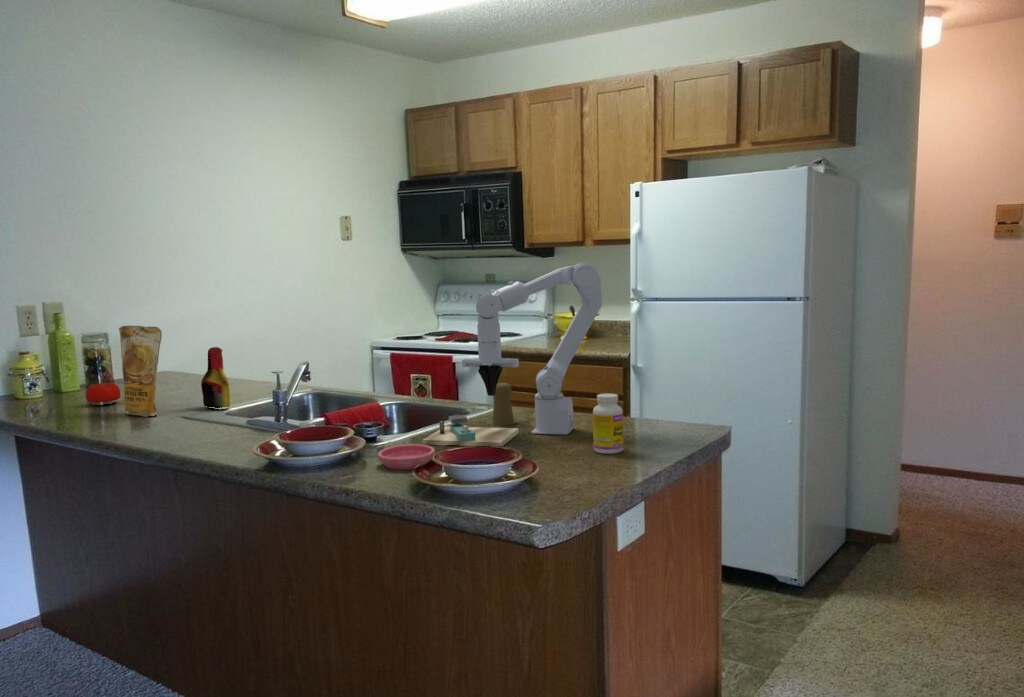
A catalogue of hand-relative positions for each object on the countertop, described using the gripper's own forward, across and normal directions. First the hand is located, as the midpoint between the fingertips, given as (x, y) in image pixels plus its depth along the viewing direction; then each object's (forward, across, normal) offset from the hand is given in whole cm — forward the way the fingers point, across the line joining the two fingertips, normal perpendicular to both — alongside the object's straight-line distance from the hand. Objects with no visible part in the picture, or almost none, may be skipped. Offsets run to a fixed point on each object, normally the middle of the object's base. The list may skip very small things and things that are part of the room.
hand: (491, 395), depth 194 cm
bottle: (+10, +101, -23) cm, 104 cm away
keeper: (+10, +10, +3) cm, 14 cm away
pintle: (+9, +3, +12) cm, 15 cm away
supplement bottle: (+10, -32, +14) cm, 36 cm away
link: (+9, +6, +8) cm, 13 cm away
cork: (+10, +1, -12) cm, 16 cm away
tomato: (+10, +149, -26) cm, 152 cm away
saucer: (+10, +10, +31) cm, 34 cm away
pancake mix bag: (+10, +120, -12) cm, 121 cm away
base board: (+10, +4, +6) cm, 12 cm away
